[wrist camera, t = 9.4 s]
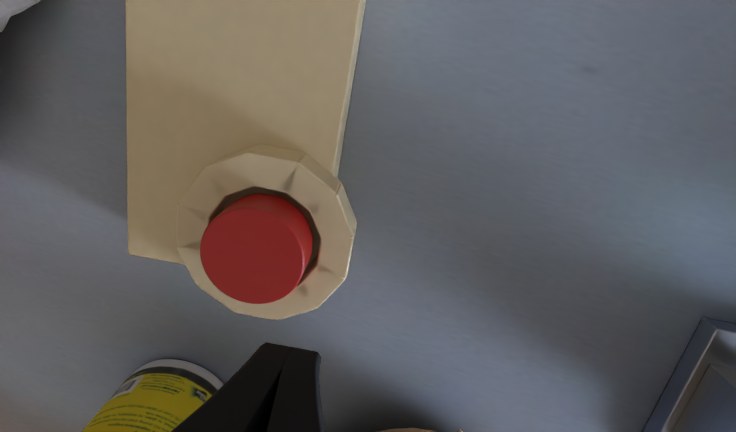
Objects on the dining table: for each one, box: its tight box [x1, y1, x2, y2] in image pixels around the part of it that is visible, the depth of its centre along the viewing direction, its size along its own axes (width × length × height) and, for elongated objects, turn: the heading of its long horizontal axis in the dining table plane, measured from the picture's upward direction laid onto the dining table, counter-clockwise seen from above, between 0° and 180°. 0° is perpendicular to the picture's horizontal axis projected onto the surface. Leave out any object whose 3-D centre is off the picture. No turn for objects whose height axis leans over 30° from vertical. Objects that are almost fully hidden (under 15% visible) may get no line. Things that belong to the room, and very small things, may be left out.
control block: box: [126, 0, 366, 320], centre depth 16 cm, size 15×9×4 cm, turn 170°
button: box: [200, 193, 313, 304], centre depth 15 cm, size 4×4×2 cm
